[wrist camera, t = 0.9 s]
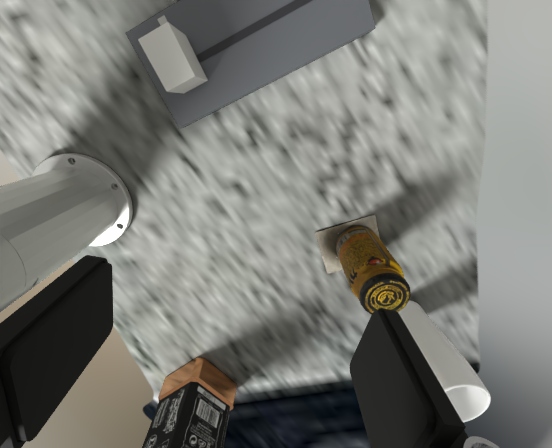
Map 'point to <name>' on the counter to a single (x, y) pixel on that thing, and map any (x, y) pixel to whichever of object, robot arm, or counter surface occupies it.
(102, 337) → the robot arm
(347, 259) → the condiment
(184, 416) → the whiskey bottle
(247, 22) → the fader panel
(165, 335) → the counter surface
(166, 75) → the fader knob
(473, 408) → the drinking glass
